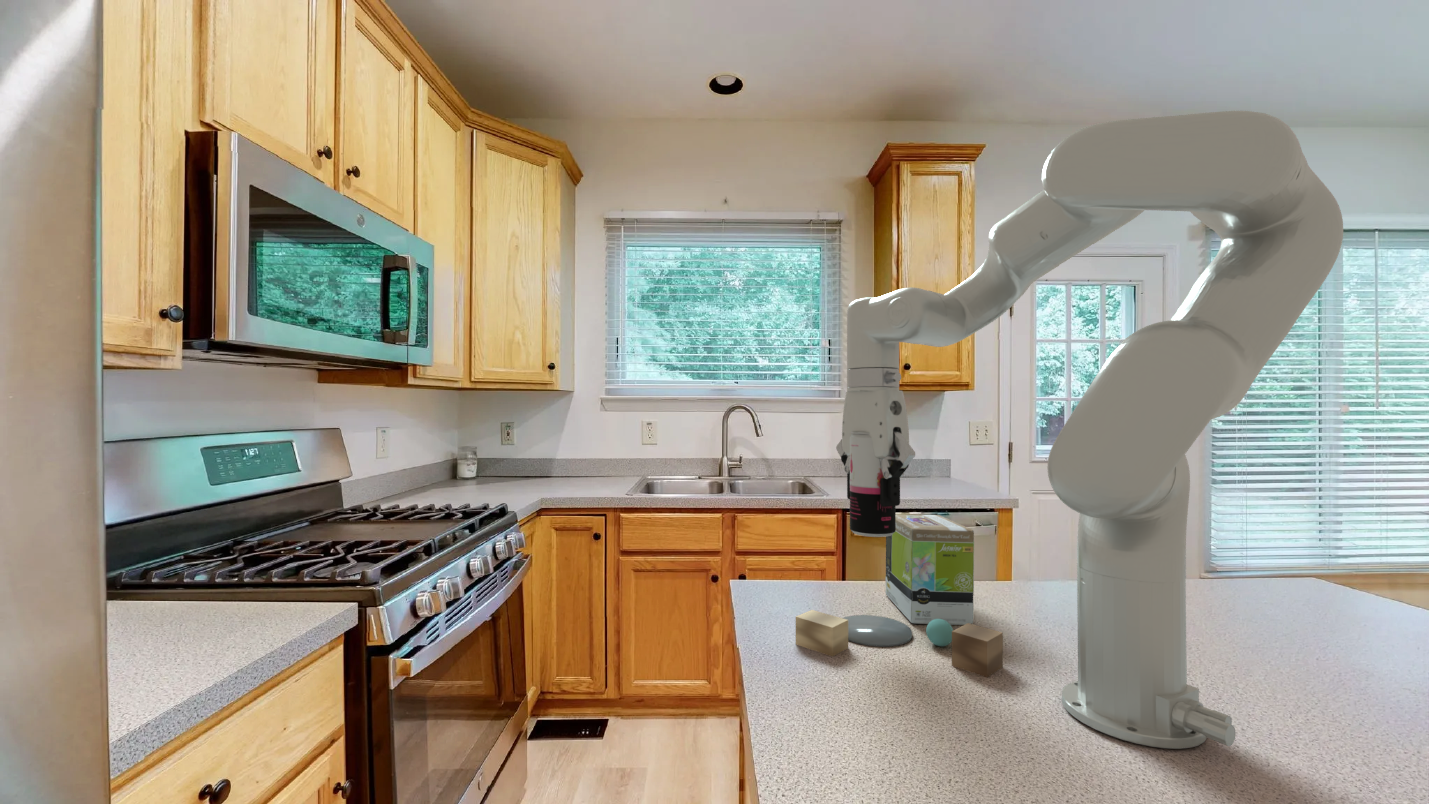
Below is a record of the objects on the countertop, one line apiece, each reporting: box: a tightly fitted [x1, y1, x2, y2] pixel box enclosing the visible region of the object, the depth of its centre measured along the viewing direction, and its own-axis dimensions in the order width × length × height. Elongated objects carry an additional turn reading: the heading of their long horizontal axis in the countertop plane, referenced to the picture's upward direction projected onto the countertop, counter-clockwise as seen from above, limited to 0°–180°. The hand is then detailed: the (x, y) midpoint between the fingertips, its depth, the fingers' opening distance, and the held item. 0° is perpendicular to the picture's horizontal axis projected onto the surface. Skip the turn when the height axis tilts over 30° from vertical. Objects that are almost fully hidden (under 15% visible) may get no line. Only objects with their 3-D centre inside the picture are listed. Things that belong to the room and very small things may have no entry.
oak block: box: [795, 609, 849, 658], centre depth 82 cm, size 6×4×4 cm, turn 46°
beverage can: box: [849, 432, 897, 538], centre depth 87 cm, size 6×7×15 cm
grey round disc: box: [842, 614, 913, 648], centre depth 87 cm, size 11×11×1 cm
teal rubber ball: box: [925, 619, 954, 647], centre depth 82 cm, size 4×4×4 cm
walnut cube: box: [951, 623, 1004, 679], centre depth 75 cm, size 4×4×4 cm
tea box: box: [885, 513, 975, 626], centre depth 97 cm, size 15×10×15 cm, turn 179°
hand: (872, 501), depth 87 cm, fingers closed on beverage can, 6 cm apart
